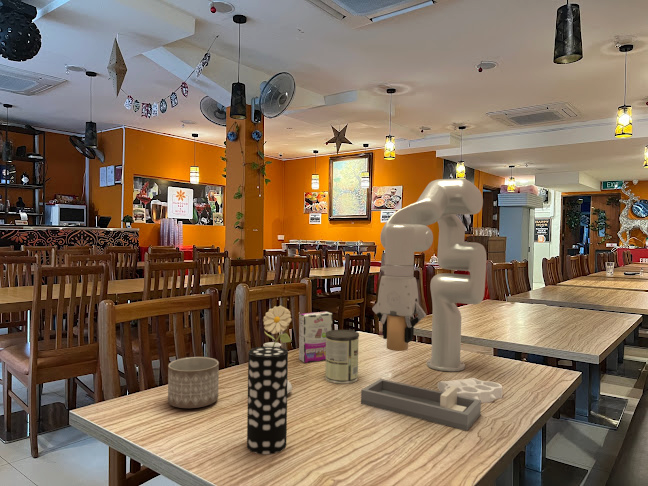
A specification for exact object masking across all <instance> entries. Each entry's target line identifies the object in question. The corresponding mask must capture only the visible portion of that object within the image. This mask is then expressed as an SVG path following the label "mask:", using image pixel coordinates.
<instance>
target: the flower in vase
mask: <svg viewBox="0 0 648 486" xmlns="http://www.w3.org/2000/svg"><path fill="white" fill-rule="evenodd" d="M291 317H292V314H291V311H290V310H289V309H288V308H286V307H285V306H282V305H279V306H276V305H275V306H273V308H269V309H268V311H267V312H265V316H263V319H262V322H263V326H264V327H263V329H264V335H266V336H268V337H269V338H270V339H272V340H274V341H273V342H272V341H271V342H265V343H263V346H262V347H280V348H281V347H282V344H285V343H286V344H287V343H291V342H292V341H293V340H292V339H291V338H290V336H289V335H288V333H286V332H285V333H282V332H284V331H285V330H287V329H288V327H289V326H290V323H291V322H292V318H291ZM266 331H267V332H269V333H271V334H273V335H275V334H278V336H277V338H276V339H275V338H274V336H273V335H271V334H268V333H267V332H266ZM278 340H280V342H281V343H279V342H277V341H278ZM292 389H293V386H292V383H291V382H290V381H289V380H287V395H288V394H289V393H290V392H291V391H292Z"/></svg>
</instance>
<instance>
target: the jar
mask: <svg viewBox="0 0 648 486" xmlns="http://www.w3.org/2000/svg"><path fill="white" fill-rule="evenodd" d="M406 327H407V324H406V320H405V317H402V316H398V315H397V312H395V311H390V314H388V315H387V339H386V349H387V350H388V351H389V350H390V351H395V352H404V351H405V352H406V351H408V350H409V343H406V342H405V328H406Z"/></svg>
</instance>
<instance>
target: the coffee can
mask: <svg viewBox="0 0 648 486" xmlns="http://www.w3.org/2000/svg"><path fill="white" fill-rule="evenodd" d="M359 336H360V333H359V332H358V331H355V330H351V329H332V330H331V331H328V332H326V360H325V376H324V378H325V381H327V382H329V383H333V384H339V385H340V384H342V385H343V384H345V385H346V384H352V383H355V382H357V381H358V380H359Z"/></svg>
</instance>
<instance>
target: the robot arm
mask: <svg viewBox="0 0 648 486" xmlns="http://www.w3.org/2000/svg"><path fill="white" fill-rule="evenodd" d="M483 205H484V198H483V195H482V192H481V190H480V189H479V187H477V186H476V185H475V184H474V183H473V182H471V181H470V180H468V179H466V178H442V179H440V178H439V179H435V180H432V181H430V182H428V184H427V185H426V187H425V188H424V190H423V191H422V193H421V194H420V196H419V197H418V199H417V200H416V201H415V202H413V203H411V204H408V205H407V206H405V207H403V208H400V209H399V210H397V211H395V212H394V213H392V215H390V217H388V219H387V221H386V222H385V223H384V226H383V227H382V228H381V232H380V236H379V237H380V243H381V244H380V245H382V247H383V248H384V249H385V250H384V265H381V266H380V271H381V272H383V274H384V275H382V276H381V278H380V282H379V287H378V295H377V302H376V303H375V304H374V305H373V306H372V308H371V309H372V311H373V312H374V314H375V315H376V316H377V318H378V319H379V320H380V323H381V324H382V330H381V332H382V337H383V340H387V315H388V314H390V311H395V312H397V315H398V316H402V317H405V320H406V324H407V327H406V328H405V342H406V343H408V344H409V343H410V342H412V341H413V340H414V335H415V334H414V330H415V329H414V328H415V326H416V325H417V324H419V322H420V321H421V320H423V319H424V318H426V316H427V314H426V311H424V309H423V308H422V307H421V305H420V304H419V289H418V282H417V278H416V277H414V273H415V272H414V271H415V260H414V259H415V253H416V252H418V253H422V252H426V251H428V250H429V249H430V248H431V247H432V245H433V241H434V234H433V231H432V229H431V228H430V227H429V226H430V225H433V224H436V222H437V224H438V229H439V230H438V231H439V232H438V245H437V257H436V258H437V259H436V260H437V265H438V266H439V267H440V268H442V269H444V270H450V271H451V270H452V271H462V272H463V271H466V272H469V274H459V273H447V272H444V273H437V274H435V275H434V276H433V277H432V278H431V279H430V286H429V287H430V294H431V302H432V303H431V304H432V306H431V307H432V320H431V321H432V322H431V323H432V325H431V357H430V358H429V359H427V360H426V366H427V367H428V368H430V369H433V370H435V371H436V370H437V371H442V372H462V371H463V370H465V368H466V364H465V363H464V362H463V361H461V347H462V346H461V345H462V344H461V342H462V313H461V311H460V309H459V308H458V306H457V304H463V305H464V304H465V305H466V304H467V305H479V304H480V303H482V302H483V300H484V297H485V288H486V274H487V273H486V272H487V251H486V248H485V246H484V245H483V244H481V243H479V242H471V241H470V242H469V241H468V242H466V241H465V233H466V229H465V225H464V223H463V222H462V220H461V219H460V217H459V216H458V215H476V214H478V213H480V212H481V210H482V208H483ZM414 315H417V316H415V317H414Z"/></svg>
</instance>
